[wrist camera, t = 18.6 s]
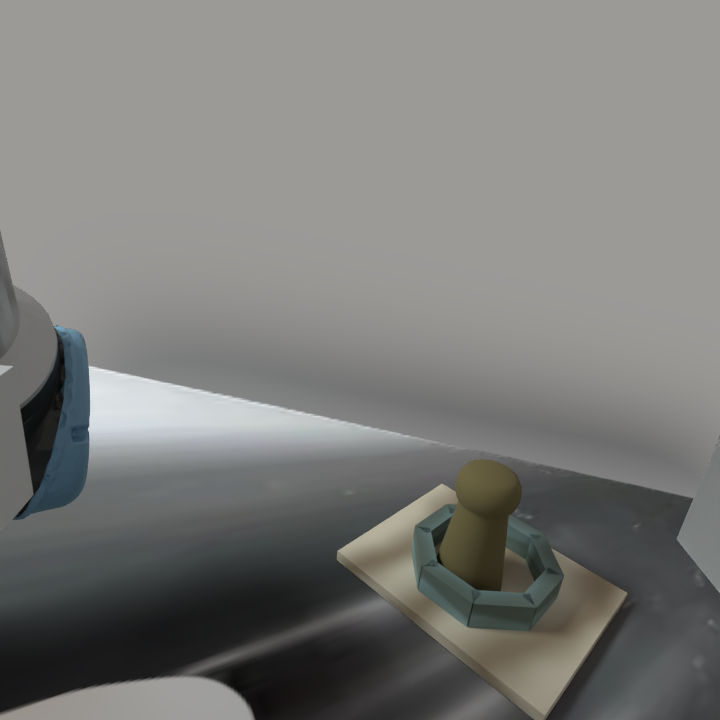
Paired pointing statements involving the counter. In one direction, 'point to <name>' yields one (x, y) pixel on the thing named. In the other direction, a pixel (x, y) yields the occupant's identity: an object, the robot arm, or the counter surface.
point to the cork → (480, 524)
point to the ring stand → (490, 601)
